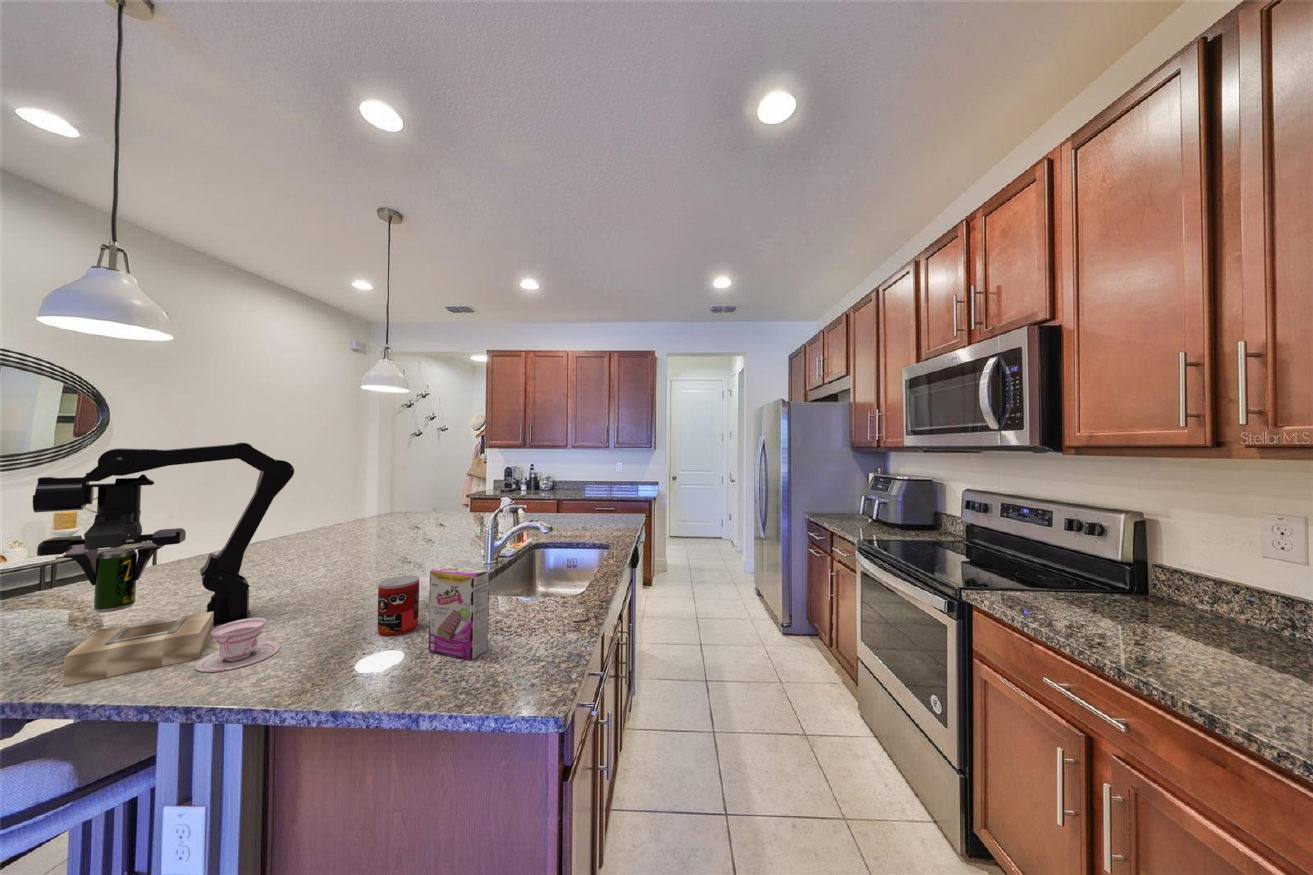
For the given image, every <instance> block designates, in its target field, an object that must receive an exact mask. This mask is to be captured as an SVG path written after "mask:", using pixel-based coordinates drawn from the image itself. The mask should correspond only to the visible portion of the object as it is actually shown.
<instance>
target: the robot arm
mask: <svg viewBox="0 0 1313 875" xmlns="http://www.w3.org/2000/svg"><path fill="white" fill-rule="evenodd" d="M227 460H240V461H243V462H244V463H245V464H247V465H250V467H253V468H255V469H256V470H257V471H260V472H259V476H258V478H257V480H256V481H257V482H256V486H255V490H254V493H253V494H252V497H251V498H250V500H249V503H248V504H247V506H246V508H245V509H244V510H243V513H242V515H241V516H240V518H239V519H238V522H237V524H235V525H236V526H235V527H234V529H233V531H232V532H231V535H230V536H229V538H228V540H227V541H226V543H225V545H224V546H223V548H222V549H221V550H220V551H219V552H218V553H217V554H214V553H209V554H208V556H207V559H206V562H205V564H204V565H203V566H202V567H201V568H200V569H199V572H200V576H201V583H202V586H203V587H204V588H205V589H206V590H207V591H209V592H212V593H213V592H214V593H213V594H212V595H211V597H210V601H208V603H207V605H206V612H212V611H214V619H213V626H216V625H217V626H218V625H224V624H227V623H230V622H233V621H237V620H242V619H248V617H249V615H250V614H251V610H250V585H249V582H248V580H247V579H246V577H245V576H242V575H241V574H240V571H241V568H242V563H243V560H244V559H243V558H244V555H245V552H246V550H247V548H248V546H249V544H250V542H251V541H252V539H253V537H254V535H255V533H256V532H257V530H258V528H259V526H260V524H261V522H262V521H263V518H265V514H266V513H267V511H268V510H269V507H270V506H271V504H272V502H273V501H274V498H276V496H278V494H279V493H280V492H281V491H282V490H283V489H284V488H285V486H286V485H287V484H288V483H289V481H290V480H291V479H292V478H293V477H294V473H295V468H294V466H293V465H292V464H291V463H290V462H288V461H286V460H282V459H281V460H280V459H275V458H273V457H271V456H269V455H268V454H266V453H264V452H262V451H260V450H259V449H256V448H255V447H253V446H252V445H251V444H249V443H248V442H237V443H231V444H222V445H220V444H219V445H207V446H206V445H205V446H198V447H197V446H196V447H185V448H174V449H173V448H172V449H156V448H155V449H152V448H151V449H149V448H148V449H147V448H113V449H108V450H107V451H105V452H104V453H103V452H102V454H101V455H100V456H99V457H98V460H97V465H96V467H94V468H93V469H92V470H91V471H90V472H86V473H85V475H84V476H82V477H81V476H80V477H78V476H77V477H52V476H48V477H47V476H45V477H44V476H43V477H42V476H41V477H37V484H36V487H35V493H34V494H33V495H32V510H33V512H34V513H36V514H37V513H48V512H49V513H50V512H52V513H53V512H66V511H70V512H71V511H82V510H84V508H85V506H86V505H92V504H93V501H94V488H97V500H96V501H97V504H96V514H95V516H94V522H93V523H92V525H91V526H90V527H89V528H88V530H87V531H86V532H85V533H84V534H83V537H84V538H83V537H82V535H69V536H67V535H65V536H55V537H52V538H51V537H50V538H49V539H46V540H43V541H41V542H40V543H39V544H38V545H37V548H36V549H37V552H36V557H45V556H56V555H57V556H58V555H62V557H63V559H72V560H73V561H75V562H76V563H77V564H78V565H79V566H80V568H81V570H83V572H84V574H85V576H86V578H87V579H88V582H89V583H90V585H91V586H95V574H96V558H97V556H98V555H99V554H98V553H99V552H98V549H119V548H121V547H124V546H125V545H136V544H138V545H139V544H141V545H142V546H141V547H139V548H137V564H136V570H135V580H136V581H138V580H140V578H141V576H142V574H143V573H144V571H145V568H146V567H147V565H148V563H149V561H150V560H151V558H152V557H153V555H154V554H155V552H156V551H157V550H160V549H162V548H163V547H165V546H169V545H171V546H173V545H178V544H181V543H183V542H185V541H186V534H187V533H186V529H184V528H183V527H179V528H163V529H158V530H156V531H155V532H153V533H147V534H142V533H143V527H142V523H141V515H142V509H141V496H142V486H154V484H155V481H154V480H152V479H150V478H148V476H147V475H146V474H145V473H144V474H140V475H139V476H138V477H122V476H129V475H132V474H137V473H141V472H146V471H147V472H148V471H151V470H155V469H159V468H163V467H168V466H178V465H187V464H199V463H206V462H208V463H209V462H216V461H227ZM112 476H113V477H119V478H115V482H113V483H112V482H111V483H109V482H107V483H94V482H100V481H103V480H105V479H109V478H110V477H112ZM121 477H122V478H121ZM90 482H93V483H90ZM63 554H64V555H63Z"/></svg>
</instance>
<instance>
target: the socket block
mask: <svg viewBox="0 0 1313 875" xmlns="http://www.w3.org/2000/svg"><path fill="white" fill-rule="evenodd" d="M213 619H214V611H212V612H207V611H206V612H202V613H201V612H200V613H195V614H190V615H181V616H176V617H175V616H174V617H169V618H163V619H158V620H157V619H155V620H151V621H145V622H138V623H133V624H127V625H121V626H120V625H119V626H113V627H107V628H101V629H97V630H96V631H95V632H93V634H90V636H88V637H87V638H86V639H85V640H84V641H82V642H81V643H80V644H78V645H77V646H76V647H75V648H73V650H70V652H69V653H67V654H66V655H65V656H64V661H63V663H64V664H63V679H62V680H63V681H62V687H69V686H72V685H77V684H82V683H86V682H87V683H88V682H91V681H92V682H93V681H97V680H103V679H107V678H111V677H115V676H116V675H117V676H121V674H122V675H126V674H125V673H127V674H131V673H135V672H136V673H137V672H141V671H146V670H151V669H155V668H160V667H165V665H166V666H170V664H171V665H176V664H180V663H185V662H189V661H194V660H200V657H201V655H202V654H203V652H204V650H205V648H206V647H207V646H208V644H209V642H210V640H211V638H213V637H212V635H211V632H212V630H214V625H213ZM117 676H116V677H117Z"/></svg>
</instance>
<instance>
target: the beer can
mask: <svg viewBox="0 0 1313 875" xmlns="http://www.w3.org/2000/svg"><path fill="white" fill-rule="evenodd" d="M137 559H138V551H136V548H134V547H127V548H113V549H109V550H107V549H106V550H103V551H99V552H98V556H97V558H96V574H95V585H94V596H93V597H94V598H93V600H94V601H93V602H94V603H93V609H94V611H95V612H96V613H101V614H105V613H110V612H111V613H112V612H116V611H117V612H118V611H121V610H126V609H129V608H132V607H133V606H134V604H135V603H136V595H137V594H136V591H137V580H135V570H136V564H137Z"/></svg>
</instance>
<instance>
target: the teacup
mask: <svg viewBox="0 0 1313 875" xmlns="http://www.w3.org/2000/svg"><path fill="white" fill-rule="evenodd" d="M266 625H267V619H266V618H264V617H249V618H247V619H242V620H237V621H233V622H229V623H223V624H220V625H219V626H217V627H215V628H213V630H212V632H211V635H212V637H211V638H214V639H216V643H218V645H219V650H217V651H215V652H213V653H210V654H208V655H206V656H204V657H203V658H201V659H198V661H197V662H196V663H195V665H194V669H195V671H198V672H200V673H213V672H214V673H215V672H216V673H218V672H226V671H230V670H234V669H235V670H236V669H239V668H244V667H247V666H251V665H253V664H255V663H258V662H262V661H263V660H267V659H268V658H270V657H273V656H274V655H275V654H277V653H278V652H279V651H280V649H281V644H280V643H279V642H275V641H269V640H268V641H266V640H265V641H258V637H259V636H260V635H261V634H262V629H264V628H265V626H266ZM266 646H267V647H266ZM261 650H268V651H263V652H261ZM269 650H272V651H269ZM252 651H253V653H255V655H253V656H251V657H250V655H251V654H252ZM264 655H265V656H264ZM266 655H267V656H266ZM248 657H249V658H248ZM246 658H247V659H246ZM224 660H226V661H228V662H223V661H224ZM212 664H213V665H212ZM216 664H217V665H216ZM220 664H221V665H220ZM222 664H223V665H222ZM206 668H225V669H206Z"/></svg>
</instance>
